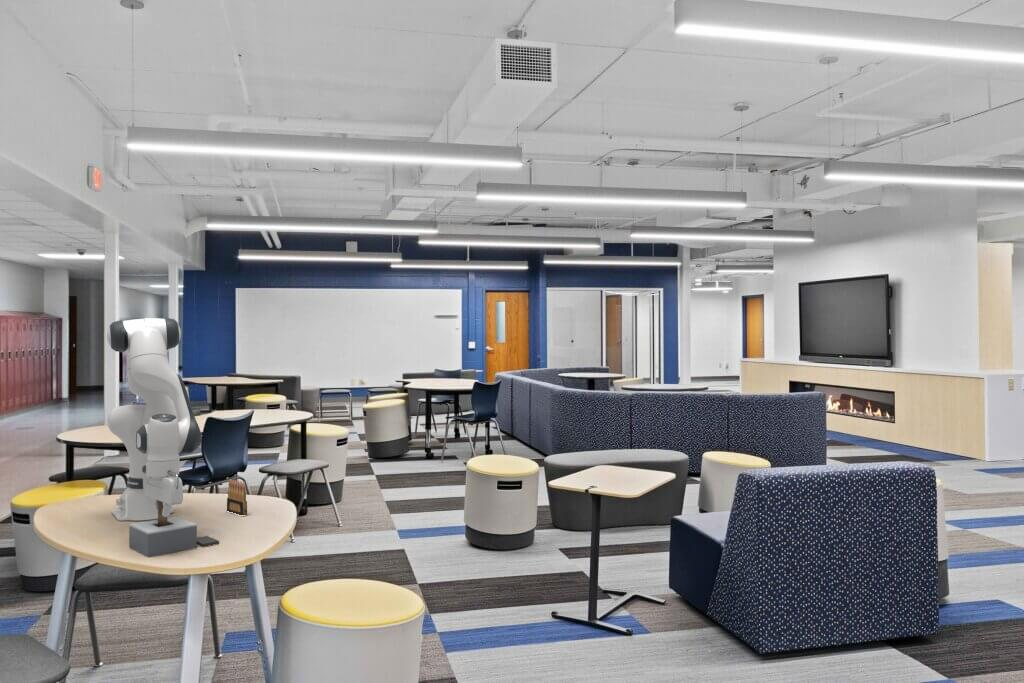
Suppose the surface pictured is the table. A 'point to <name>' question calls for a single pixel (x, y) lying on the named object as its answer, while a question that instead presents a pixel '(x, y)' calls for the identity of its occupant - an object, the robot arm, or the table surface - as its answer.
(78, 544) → the table surface
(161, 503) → the brown rounded rod
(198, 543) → the rubber pad
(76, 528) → the table surface
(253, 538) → the table surface
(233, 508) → the ammunition clip
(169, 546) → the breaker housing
